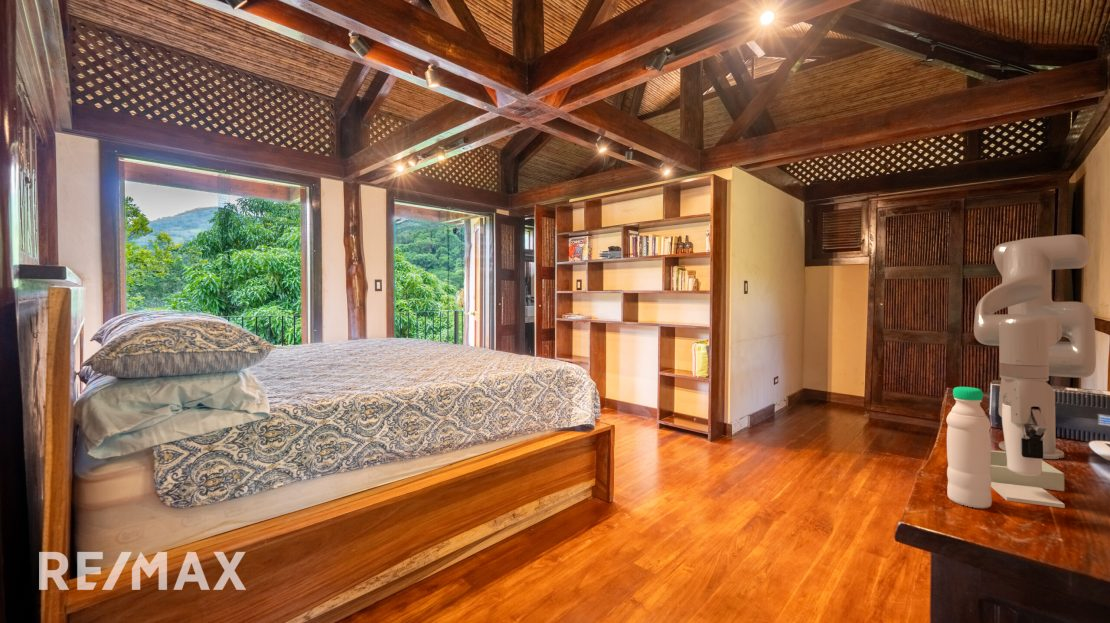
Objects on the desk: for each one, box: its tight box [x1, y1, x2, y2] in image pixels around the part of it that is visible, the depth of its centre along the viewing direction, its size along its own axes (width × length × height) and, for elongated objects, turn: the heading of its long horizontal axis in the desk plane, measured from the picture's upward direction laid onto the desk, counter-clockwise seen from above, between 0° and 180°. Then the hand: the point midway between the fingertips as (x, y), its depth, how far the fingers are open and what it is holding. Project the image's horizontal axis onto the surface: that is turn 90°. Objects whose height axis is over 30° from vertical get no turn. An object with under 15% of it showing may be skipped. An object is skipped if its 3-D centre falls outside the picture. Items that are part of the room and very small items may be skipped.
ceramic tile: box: [990, 482, 1066, 509], centre depth 99 cm, size 9×9×1 cm
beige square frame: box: [990, 449, 1065, 492], centre depth 110 cm, size 14×14×4 cm
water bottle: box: [946, 386, 993, 509], centre depth 96 cm, size 7×7×25 cm
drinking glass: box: [1001, 403, 1046, 476], centre depth 99 cm, size 7×7×15 cm
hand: (1024, 451), depth 99 cm, fingers closed on drinking glass, 6 cm apart
